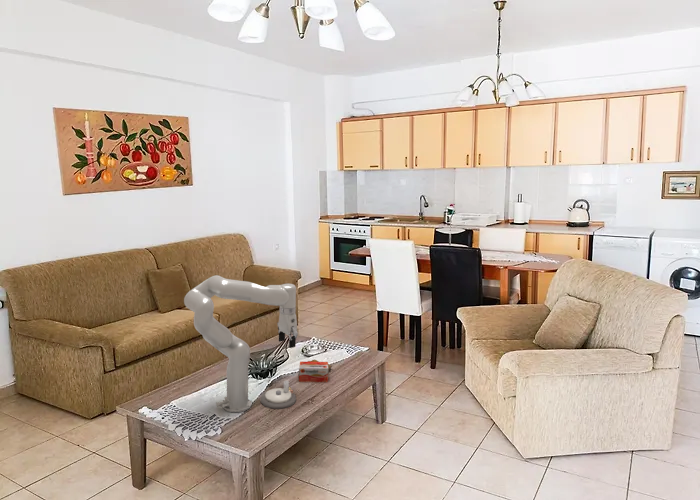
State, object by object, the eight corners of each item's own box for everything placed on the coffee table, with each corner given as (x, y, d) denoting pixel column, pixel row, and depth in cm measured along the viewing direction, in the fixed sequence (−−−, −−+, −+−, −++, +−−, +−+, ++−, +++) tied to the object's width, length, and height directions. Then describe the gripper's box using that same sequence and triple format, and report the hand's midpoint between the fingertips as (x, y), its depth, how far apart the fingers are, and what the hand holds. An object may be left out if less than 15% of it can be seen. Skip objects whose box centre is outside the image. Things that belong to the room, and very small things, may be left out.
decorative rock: (299, 370, 276) (323, 378, 269) (300, 363, 275) (323, 371, 268) (311, 362, 286) (334, 369, 279) (312, 355, 285) (335, 362, 278)
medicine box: (298, 382, 261) (298, 367, 260) (299, 375, 269) (299, 361, 268) (328, 382, 262) (328, 368, 261) (327, 375, 270) (328, 361, 269)
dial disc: (273, 405, 232) (274, 392, 231) (260, 395, 242) (260, 382, 240) (299, 397, 241) (299, 384, 240) (285, 388, 250) (286, 375, 249)
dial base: (272, 412, 230) (272, 404, 229) (254, 398, 242) (254, 390, 241) (302, 402, 240) (302, 394, 239) (283, 389, 252) (283, 382, 252)
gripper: (304, 313, 239) (303, 348, 242) (285, 304, 252) (284, 337, 256) (290, 316, 234) (289, 351, 238) (271, 306, 248) (271, 340, 251)
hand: (286, 344), depth 247 cm, fingers open, 9 cm apart
